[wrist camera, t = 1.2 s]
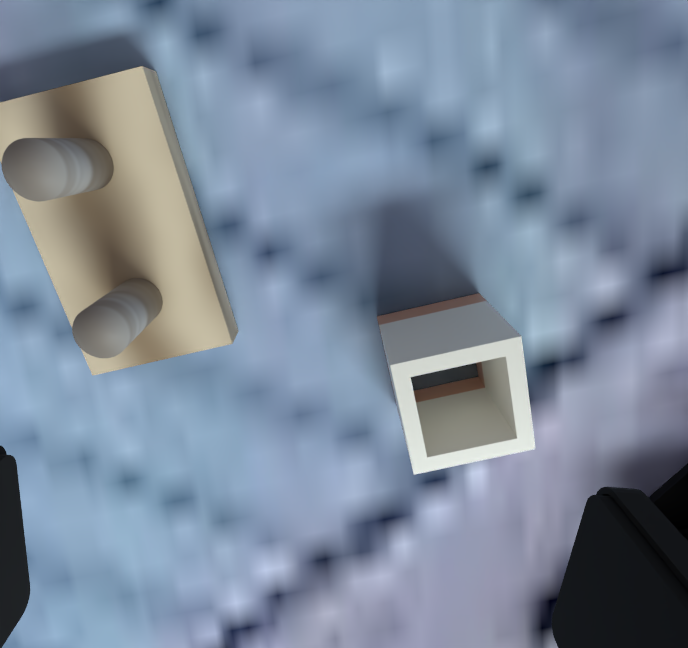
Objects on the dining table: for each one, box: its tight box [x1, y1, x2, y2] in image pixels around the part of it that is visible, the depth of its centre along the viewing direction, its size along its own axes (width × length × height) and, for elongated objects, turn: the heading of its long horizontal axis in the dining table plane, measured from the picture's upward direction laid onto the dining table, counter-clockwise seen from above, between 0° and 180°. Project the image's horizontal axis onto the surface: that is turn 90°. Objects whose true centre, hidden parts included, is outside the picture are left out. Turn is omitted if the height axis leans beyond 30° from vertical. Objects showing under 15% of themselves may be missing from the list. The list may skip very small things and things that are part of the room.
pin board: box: [0, 66, 238, 375], centre depth 25 cm, size 8×14×7 cm, turn 13°
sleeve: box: [377, 293, 535, 474], centre depth 28 cm, size 6×6×7 cm
